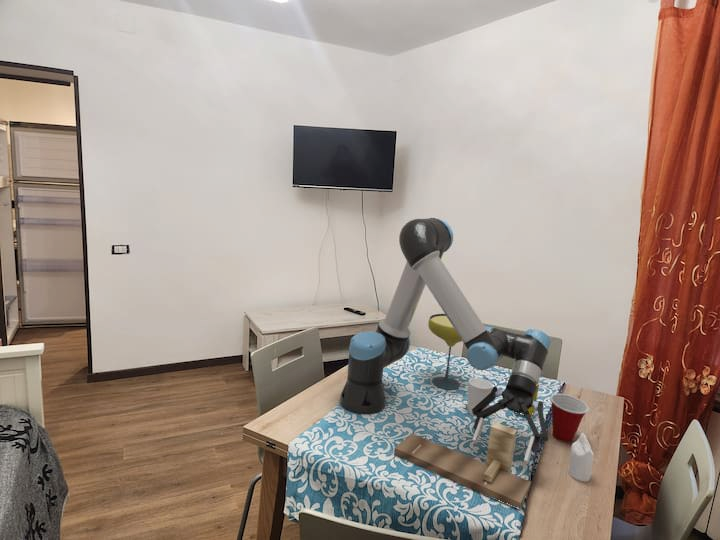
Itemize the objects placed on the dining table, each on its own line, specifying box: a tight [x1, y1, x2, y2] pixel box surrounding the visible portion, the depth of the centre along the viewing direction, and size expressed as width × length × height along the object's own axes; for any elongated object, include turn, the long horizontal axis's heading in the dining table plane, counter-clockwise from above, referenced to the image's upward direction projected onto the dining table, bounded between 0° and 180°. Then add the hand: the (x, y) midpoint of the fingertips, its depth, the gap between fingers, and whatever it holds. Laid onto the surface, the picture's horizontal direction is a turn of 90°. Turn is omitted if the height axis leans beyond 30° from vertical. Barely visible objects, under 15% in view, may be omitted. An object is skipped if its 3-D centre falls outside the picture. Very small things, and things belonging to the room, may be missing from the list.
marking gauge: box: [483, 421, 518, 483], centre depth 117 cm, size 6×11×12 cm, turn 146°
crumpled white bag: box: [567, 432, 595, 483], centre depth 121 cm, size 6×12×6 cm
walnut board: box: [393, 432, 532, 510], centre depth 120 cm, size 34×10×2 cm, turn 56°
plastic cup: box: [550, 393, 589, 443], centre depth 140 cm, size 11×11×12 cm
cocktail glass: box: [428, 313, 463, 391], centre depth 171 cm, size 18×18×25 cm
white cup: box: [466, 377, 494, 415], centre depth 153 cm, size 8×8×10 cm
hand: (499, 451), depth 119 cm, fingers open, 13 cm apart
